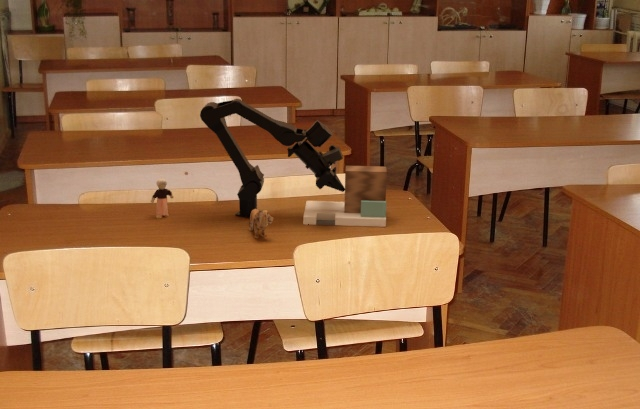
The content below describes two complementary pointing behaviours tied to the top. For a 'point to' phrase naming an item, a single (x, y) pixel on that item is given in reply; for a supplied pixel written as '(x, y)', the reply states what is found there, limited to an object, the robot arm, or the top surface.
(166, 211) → the grandmother figurine
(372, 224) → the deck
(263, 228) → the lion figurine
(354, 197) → the walnut block
